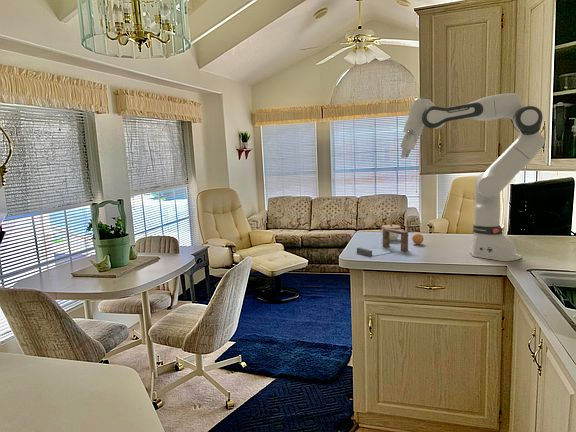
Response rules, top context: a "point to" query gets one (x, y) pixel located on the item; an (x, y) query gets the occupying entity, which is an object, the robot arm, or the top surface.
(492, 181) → the robot arm
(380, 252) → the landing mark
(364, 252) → the stopper
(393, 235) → the lidded jar
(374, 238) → the top surface
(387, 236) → the bridge
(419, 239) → the ball
